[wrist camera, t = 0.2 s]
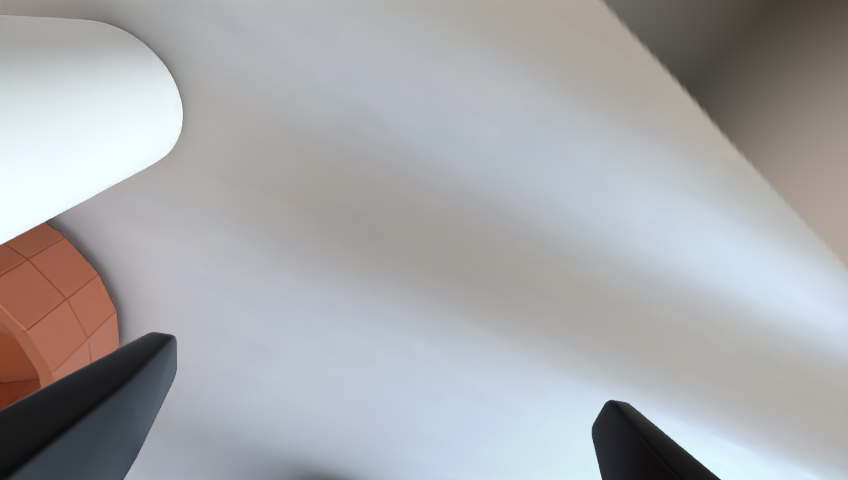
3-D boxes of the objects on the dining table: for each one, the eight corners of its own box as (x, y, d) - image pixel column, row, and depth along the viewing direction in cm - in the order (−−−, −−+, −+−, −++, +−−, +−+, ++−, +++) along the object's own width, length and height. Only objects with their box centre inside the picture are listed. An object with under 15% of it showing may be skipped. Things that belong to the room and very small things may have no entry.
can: (8, 91, 19) (-495, 164, 8) (86, -17, 18) (-411, -98, 7) (136, 191, 22) (-128, 349, 11) (216, 104, 20) (-1, 188, 9)
